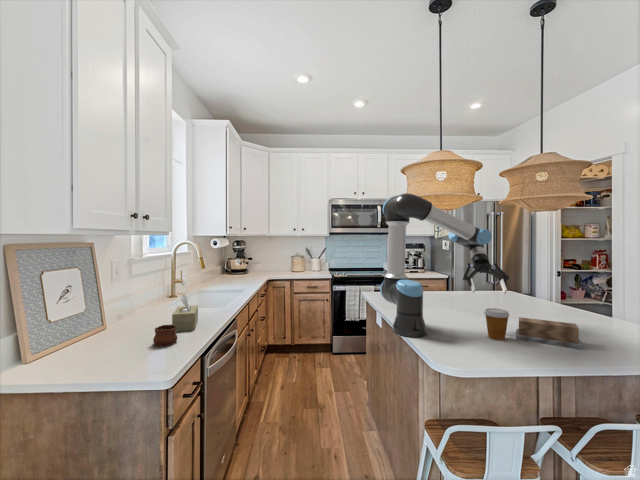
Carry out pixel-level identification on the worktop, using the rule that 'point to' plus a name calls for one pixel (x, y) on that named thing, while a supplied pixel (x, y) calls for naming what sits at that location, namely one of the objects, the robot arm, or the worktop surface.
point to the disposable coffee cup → (496, 323)
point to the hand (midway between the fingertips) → (489, 291)
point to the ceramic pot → (165, 335)
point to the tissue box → (185, 316)
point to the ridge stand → (549, 332)
